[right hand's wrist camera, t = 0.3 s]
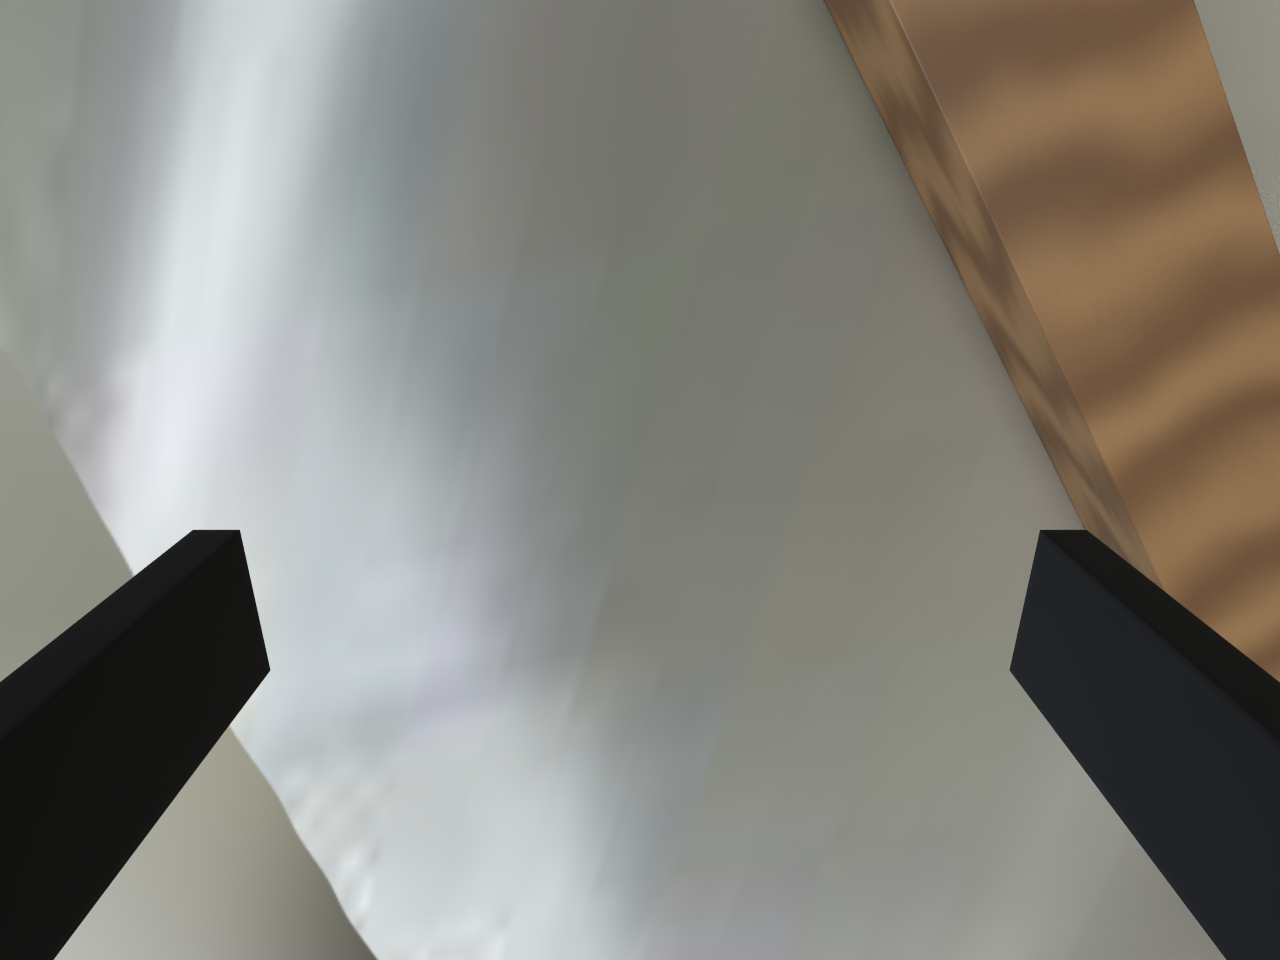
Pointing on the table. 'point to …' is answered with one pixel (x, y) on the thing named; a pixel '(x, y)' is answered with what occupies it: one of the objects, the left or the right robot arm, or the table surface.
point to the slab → (1108, 267)
